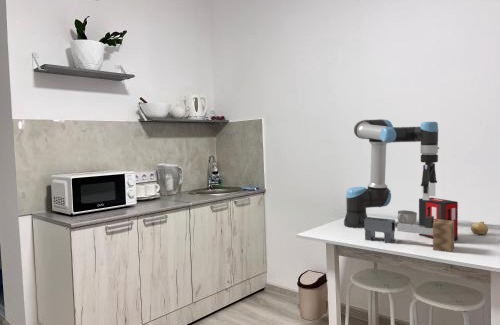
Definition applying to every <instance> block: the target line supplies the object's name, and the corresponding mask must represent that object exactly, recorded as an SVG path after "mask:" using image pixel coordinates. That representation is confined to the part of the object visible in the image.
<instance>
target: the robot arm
mask: <svg viewBox="0 0 500 325" xmlns="http://www.w3.org/2000/svg"><path fill="white" fill-rule="evenodd" d="M353 133H354V135H355V136H356V137H357V138H358V139H361V140H368V142H369V143H370V145H371V147H370V181H369V183H368V184H367V187H365V186H352V187H350V188H348V189H347V190H346V195H345V197H346V198H345V200H346V202H345V203H346V214H345V217H344V220H343V225H344V226H345V227H347V228H356V229H357V228H359V229H360V228H362V229H363V228H364V219H365V218H367V217H368V214H367V208H369V209H370V208H382V207H387V206H388V205H389V204H390V203H391V201H392V193H391V190H390V188H388V185H387V184H386V164H387V162H386V161H387V160H386V159H387V145H388V144H391V143H417V142H420V154H421V155H420V162H421V163H424V164H423V165H422V169H423V170H422V175H421V176H422V178H421V183H420V187H422V198H423V200H429V198H430V197H436V184H437V183H438V180H437V175H436V173H437V172H436V164H435V163H438V162H439V155H438V153H439V150H440V147H439V146H438V145H439V124H438V122H437V121H422V122H420V126H402V127H401V126H399V127H398V126H397V127H396V126H394V125H393V124H392V122H391V121H390V120H389V119H382V118H381V119H362V120H360V121H358V122H357V123H356V124H355V125H354V128H353Z"/></svg>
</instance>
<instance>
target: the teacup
mask: <svg viewBox="0 0 500 325" xmlns="http://www.w3.org/2000/svg"><path fill="white" fill-rule="evenodd" d="M417 215H418V213H417V212H416V211H414V210H404V209H403V210H398V211H397V217H396V218H397V221H398V223H403V224H412V225H416V222H417Z"/></svg>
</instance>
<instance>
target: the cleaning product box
mask: <svg viewBox="0 0 500 325" xmlns="http://www.w3.org/2000/svg"><path fill="white" fill-rule="evenodd" d="M458 203H459V202H458V201H456V200H449V199H443V198H435V197H429V200H423V197H422V198H418V225H422V226H425V217H426V216H434V221H435V220H437V219H441V220H451V221H454V242H457V241H458V240H459V239H458V237H459V236H458V234H459V233H458V232H459V231H458V227H459V226H458V222H459V220H458V217H459V216H458V214H459V212H458V208H459V207H458V206H459V204H458ZM418 236H420V237H424V238H427V239H431V240H433V235H427V234H418Z"/></svg>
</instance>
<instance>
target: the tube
mask: <svg viewBox="0 0 500 325" xmlns="http://www.w3.org/2000/svg"><path fill="white" fill-rule="evenodd" d="M433 222H434V216H426V217H425V226H422V225H419V224H413V225H412V224H403V223H400V222H398V223H397V226H396V228H397V229H396V230H397V232H402V233H410V234H418V235H419V234H427V235H433Z"/></svg>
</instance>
